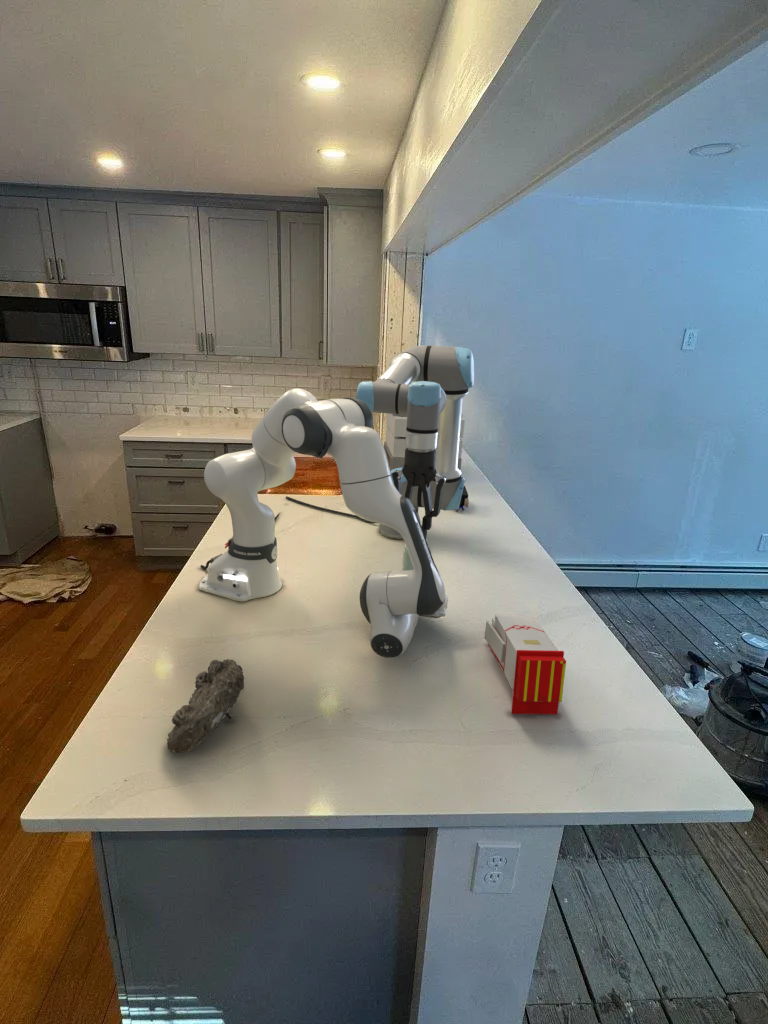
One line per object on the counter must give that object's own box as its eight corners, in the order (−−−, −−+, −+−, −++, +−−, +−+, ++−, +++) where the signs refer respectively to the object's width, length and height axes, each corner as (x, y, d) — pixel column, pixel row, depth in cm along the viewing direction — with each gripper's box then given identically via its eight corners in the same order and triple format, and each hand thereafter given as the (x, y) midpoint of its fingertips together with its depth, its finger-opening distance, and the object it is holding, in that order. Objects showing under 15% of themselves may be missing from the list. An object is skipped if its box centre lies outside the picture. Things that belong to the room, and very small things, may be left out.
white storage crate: (382, 463, 289) (386, 382, 275) (445, 464, 293) (451, 384, 279) (390, 482, 257) (394, 392, 243) (460, 483, 261) (468, 394, 247)
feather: (287, 506, 225) (290, 502, 224) (270, 530, 198) (272, 526, 198) (283, 504, 225) (286, 500, 224) (265, 527, 198) (268, 523, 197)
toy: (530, 600, 137) (574, 657, 108) (525, 651, 140) (567, 720, 111) (480, 599, 137) (511, 656, 107) (477, 651, 139) (506, 719, 110)
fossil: (192, 660, 117) (244, 628, 112) (224, 691, 120) (276, 661, 115) (142, 746, 98) (202, 712, 93) (182, 779, 101) (242, 748, 96)
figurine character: (468, 516, 224) (463, 500, 237) (471, 498, 221) (465, 483, 234) (452, 515, 224) (447, 499, 237) (453, 498, 220) (449, 482, 234)
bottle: (397, 606, 151) (401, 531, 144) (416, 604, 153) (421, 529, 145) (403, 616, 146) (408, 539, 139) (423, 614, 148) (429, 537, 140)
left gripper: (445, 606, 132) (452, 580, 145) (361, 593, 136) (375, 569, 149) (443, 629, 134) (450, 602, 147) (360, 616, 138) (374, 591, 151)
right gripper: (459, 449, 136) (451, 539, 143) (392, 441, 141) (387, 529, 149) (452, 456, 129) (444, 550, 137) (381, 447, 134) (378, 539, 142)
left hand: (412, 585), depth 148 cm, fingers closed on bottle, 5 cm apart
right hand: (414, 539), depth 143 cm, fingers closed on cap, 4 cm apart
